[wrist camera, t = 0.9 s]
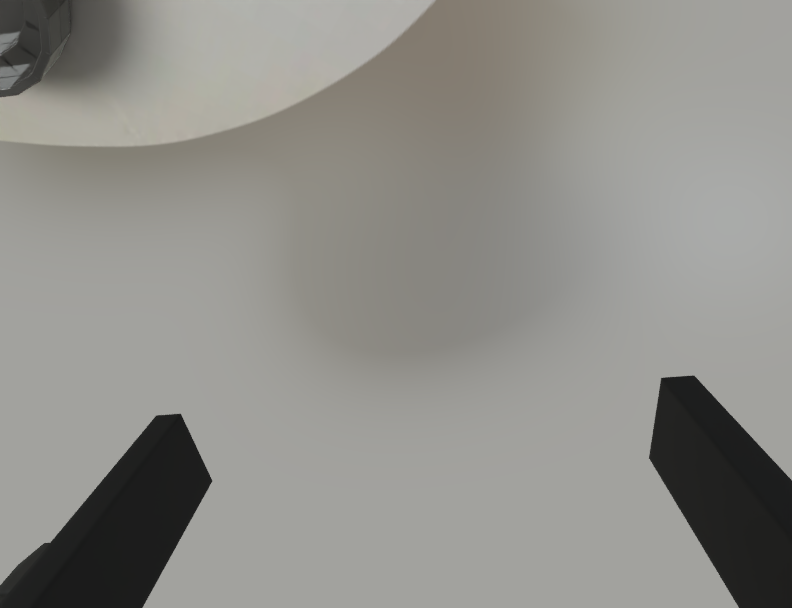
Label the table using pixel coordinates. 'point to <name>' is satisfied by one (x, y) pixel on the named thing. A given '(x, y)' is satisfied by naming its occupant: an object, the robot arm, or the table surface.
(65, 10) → the black frying pan
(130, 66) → the table surface
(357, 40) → the table surface
